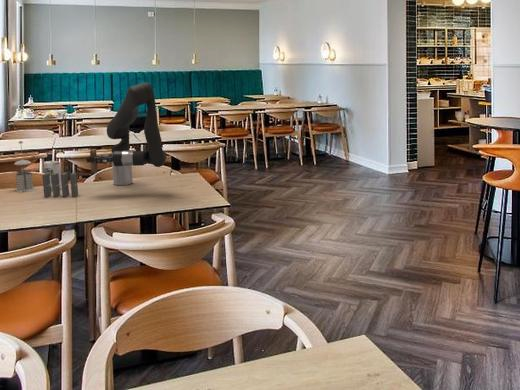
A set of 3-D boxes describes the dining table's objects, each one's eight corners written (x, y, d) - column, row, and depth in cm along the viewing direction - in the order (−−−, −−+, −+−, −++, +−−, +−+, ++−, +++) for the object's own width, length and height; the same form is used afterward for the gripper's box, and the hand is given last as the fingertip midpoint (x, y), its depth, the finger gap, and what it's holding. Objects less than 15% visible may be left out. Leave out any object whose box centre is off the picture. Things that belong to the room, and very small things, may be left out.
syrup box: (45, 190, 285) (42, 161, 282) (54, 188, 290) (52, 160, 287) (53, 191, 283) (50, 162, 279) (62, 189, 288) (60, 161, 285)
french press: (34, 187, 293) (30, 139, 288) (36, 191, 283) (32, 141, 278) (14, 188, 289) (9, 140, 284) (15, 193, 279) (10, 142, 274)
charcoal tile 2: (78, 194, 274) (76, 172, 272) (75, 196, 269) (73, 174, 267) (74, 194, 274) (72, 172, 271) (71, 197, 269) (69, 174, 267)
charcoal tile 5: (51, 195, 273) (49, 173, 271) (48, 197, 268) (46, 174, 266) (47, 195, 273) (45, 173, 271) (44, 197, 268) (42, 174, 266)
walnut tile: (97, 171, 272) (96, 148, 270) (95, 173, 267) (93, 150, 265) (93, 171, 272) (92, 148, 270) (91, 173, 267) (89, 150, 265)
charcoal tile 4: (60, 195, 274) (58, 172, 271) (57, 197, 269) (55, 174, 266) (56, 195, 273) (54, 172, 271) (53, 197, 269) (51, 174, 266)
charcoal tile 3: (69, 194, 274) (67, 172, 271) (66, 197, 269) (64, 174, 267) (65, 194, 274) (63, 172, 271) (62, 197, 269) (60, 174, 266)
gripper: (126, 148, 275) (91, 149, 274) (120, 152, 261) (83, 153, 260) (127, 163, 277) (92, 164, 276) (121, 168, 263) (84, 169, 262)
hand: (88, 159), depth 268 cm, fingers closed on walnut tile, 5 cm apart
